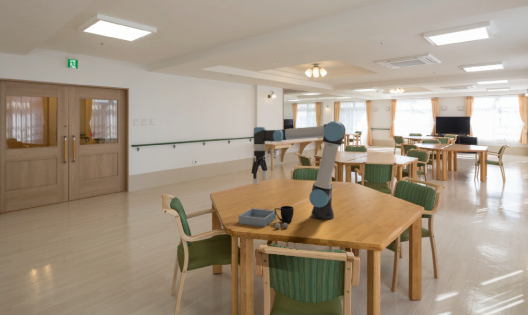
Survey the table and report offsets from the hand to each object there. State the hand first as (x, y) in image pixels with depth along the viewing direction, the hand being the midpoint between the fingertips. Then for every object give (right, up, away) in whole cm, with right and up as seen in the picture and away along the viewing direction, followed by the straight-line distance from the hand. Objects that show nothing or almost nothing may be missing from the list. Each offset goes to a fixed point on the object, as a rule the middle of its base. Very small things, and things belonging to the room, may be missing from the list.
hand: (259, 181), depth 219 cm
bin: (-1, -25, -9) cm, 26 cm away
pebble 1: (+11, -26, -24) cm, 37 cm away
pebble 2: (+16, -26, -24) cm, 38 cm away
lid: (+3, -23, +10) cm, 25 cm away
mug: (+16, -25, -11) cm, 31 cm away
